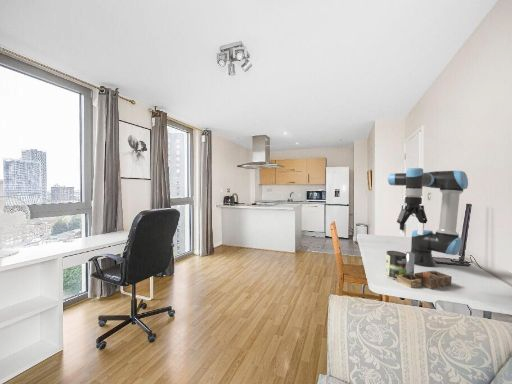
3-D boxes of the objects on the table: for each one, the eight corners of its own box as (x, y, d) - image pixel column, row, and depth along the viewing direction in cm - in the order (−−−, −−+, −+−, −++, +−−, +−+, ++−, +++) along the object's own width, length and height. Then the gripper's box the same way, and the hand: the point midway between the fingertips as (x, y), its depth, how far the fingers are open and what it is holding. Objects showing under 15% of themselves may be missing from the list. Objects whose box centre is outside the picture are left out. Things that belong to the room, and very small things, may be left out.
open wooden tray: (407, 279, 130) (407, 273, 130) (421, 285, 122) (421, 279, 122) (396, 281, 127) (397, 275, 127) (410, 287, 120) (411, 281, 120)
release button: (425, 280, 125) (425, 271, 125) (430, 283, 123) (431, 274, 122) (421, 281, 124) (421, 272, 124) (427, 283, 122) (427, 274, 121)
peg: (415, 282, 124) (416, 253, 123) (409, 283, 122) (411, 254, 122) (408, 279, 127) (409, 251, 127) (402, 280, 126) (404, 252, 126)
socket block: (433, 278, 132) (433, 270, 132) (451, 285, 124) (451, 276, 123) (413, 282, 127) (414, 273, 127) (430, 289, 118) (431, 279, 118)
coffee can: (410, 279, 130) (411, 255, 130) (396, 281, 128) (397, 256, 127) (395, 272, 140) (396, 250, 140) (381, 274, 138) (382, 251, 137)
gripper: (422, 196, 131) (420, 232, 132) (390, 196, 123) (388, 234, 124) (436, 197, 124) (434, 235, 125) (403, 197, 116) (401, 238, 117)
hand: (411, 235), depth 124 cm, fingers open, 13 cm apart
